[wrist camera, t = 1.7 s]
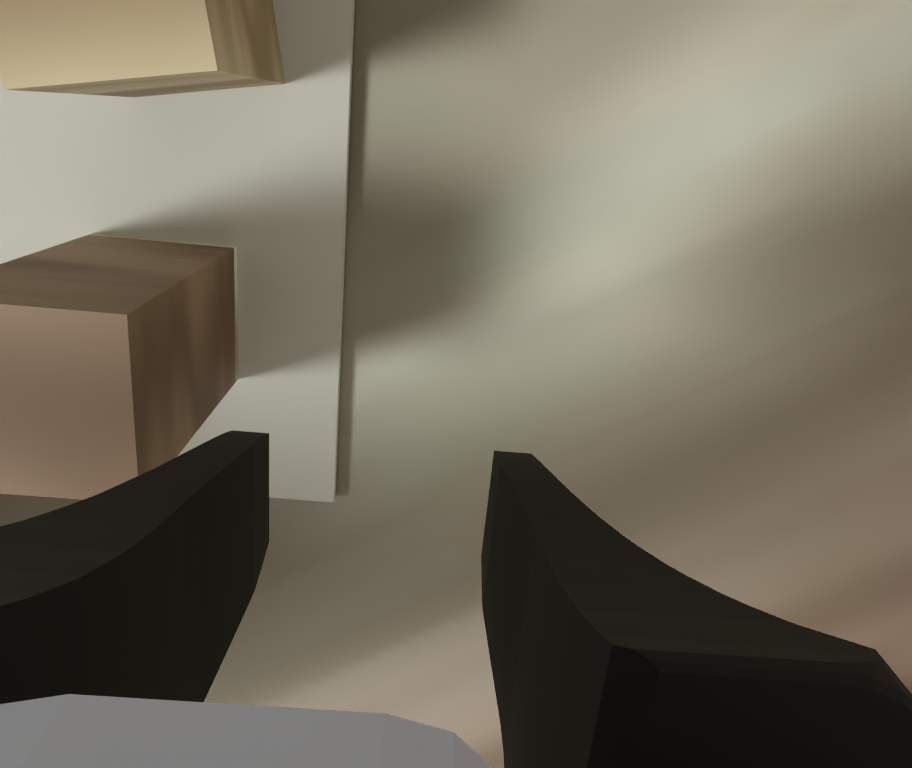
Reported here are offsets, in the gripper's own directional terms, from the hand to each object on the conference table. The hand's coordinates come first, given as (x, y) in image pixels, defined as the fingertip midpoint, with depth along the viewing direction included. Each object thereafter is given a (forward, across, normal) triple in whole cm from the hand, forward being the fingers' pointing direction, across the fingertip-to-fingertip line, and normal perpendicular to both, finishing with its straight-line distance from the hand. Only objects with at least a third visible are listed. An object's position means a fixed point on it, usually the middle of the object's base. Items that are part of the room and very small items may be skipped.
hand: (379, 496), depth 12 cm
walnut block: (+10, +7, 0) cm, 12 cm away
